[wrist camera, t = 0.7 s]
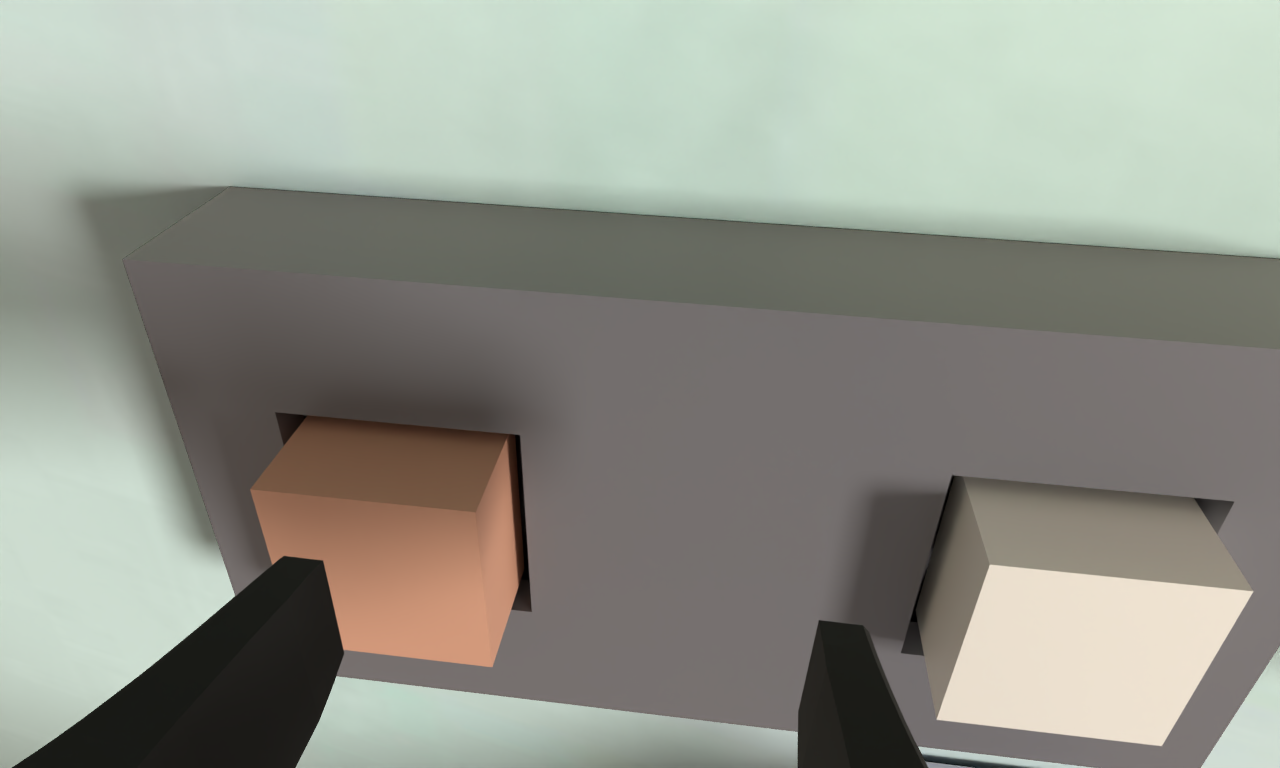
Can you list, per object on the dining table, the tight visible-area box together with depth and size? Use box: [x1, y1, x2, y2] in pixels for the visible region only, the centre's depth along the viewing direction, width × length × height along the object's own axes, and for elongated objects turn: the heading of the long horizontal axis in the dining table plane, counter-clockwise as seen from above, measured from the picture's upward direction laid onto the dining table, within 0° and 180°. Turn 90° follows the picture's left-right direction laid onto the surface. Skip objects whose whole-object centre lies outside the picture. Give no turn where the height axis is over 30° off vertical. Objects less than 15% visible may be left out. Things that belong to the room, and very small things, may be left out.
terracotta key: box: [250, 415, 524, 667], centre depth 19 cm, size 4×4×3 cm
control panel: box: [122, 187, 1280, 768], centre depth 20 cm, size 12×24×4 cm, turn 89°
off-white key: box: [916, 476, 1254, 746], centre depth 18 cm, size 4×4×3 cm
